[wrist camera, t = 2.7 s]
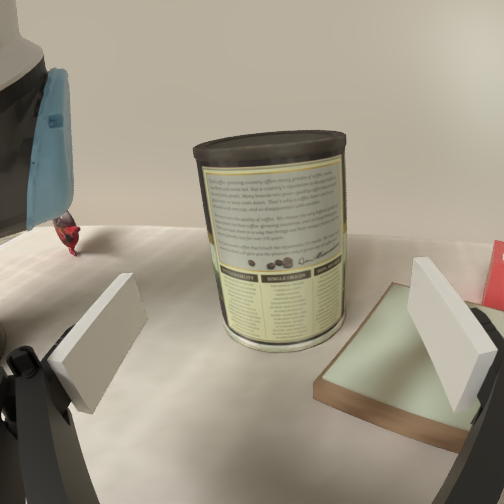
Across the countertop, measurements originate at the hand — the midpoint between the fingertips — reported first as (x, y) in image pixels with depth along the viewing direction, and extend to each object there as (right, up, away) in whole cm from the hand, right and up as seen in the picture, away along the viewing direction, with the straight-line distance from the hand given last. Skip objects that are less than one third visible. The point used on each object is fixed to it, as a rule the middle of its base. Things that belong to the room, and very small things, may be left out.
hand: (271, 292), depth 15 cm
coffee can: (+2, -3, +12) cm, 13 cm away
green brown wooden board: (+15, -7, +1) cm, 17 cm away
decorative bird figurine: (-27, +1, +29) cm, 40 cm away
